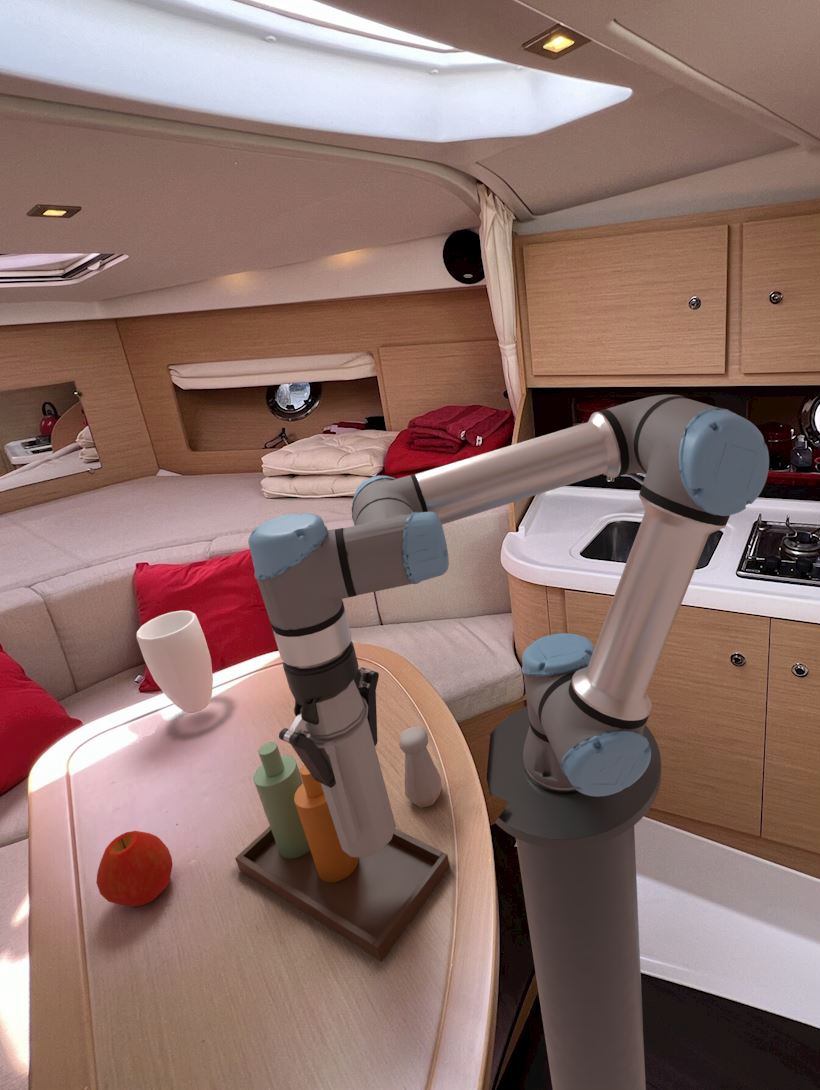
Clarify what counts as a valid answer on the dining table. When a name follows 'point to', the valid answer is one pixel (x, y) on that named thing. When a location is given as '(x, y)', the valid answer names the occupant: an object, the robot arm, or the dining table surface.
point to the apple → (134, 869)
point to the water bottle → (353, 773)
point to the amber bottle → (321, 831)
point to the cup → (178, 659)
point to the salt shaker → (419, 768)
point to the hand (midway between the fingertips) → (359, 806)
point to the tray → (353, 887)
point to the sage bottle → (281, 799)
